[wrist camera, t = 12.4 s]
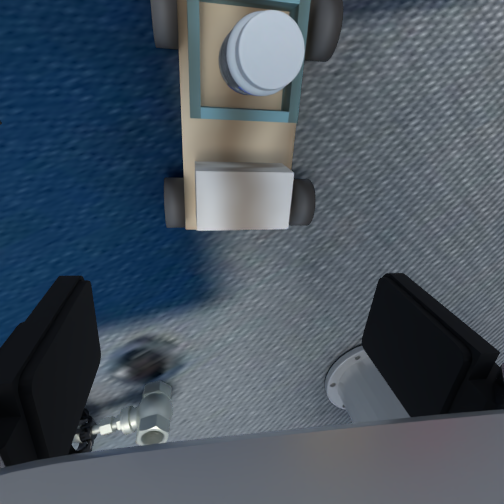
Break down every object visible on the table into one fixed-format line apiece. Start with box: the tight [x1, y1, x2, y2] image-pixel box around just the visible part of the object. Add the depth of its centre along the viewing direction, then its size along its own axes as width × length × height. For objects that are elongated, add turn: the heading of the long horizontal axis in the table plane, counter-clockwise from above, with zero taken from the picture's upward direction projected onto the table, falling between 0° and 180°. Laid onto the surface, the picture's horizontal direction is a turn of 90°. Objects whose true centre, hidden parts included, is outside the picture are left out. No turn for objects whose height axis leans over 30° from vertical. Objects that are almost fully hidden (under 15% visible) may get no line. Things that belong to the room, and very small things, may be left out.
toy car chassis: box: [151, 0, 343, 231], centre depth 26 cm, size 13×20×5 cm, turn 177°
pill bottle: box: [218, 10, 305, 96], centre depth 22 cm, size 5×5×8 cm
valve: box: [68, 380, 173, 455], centre depth 38 cm, size 7×7×12 cm
